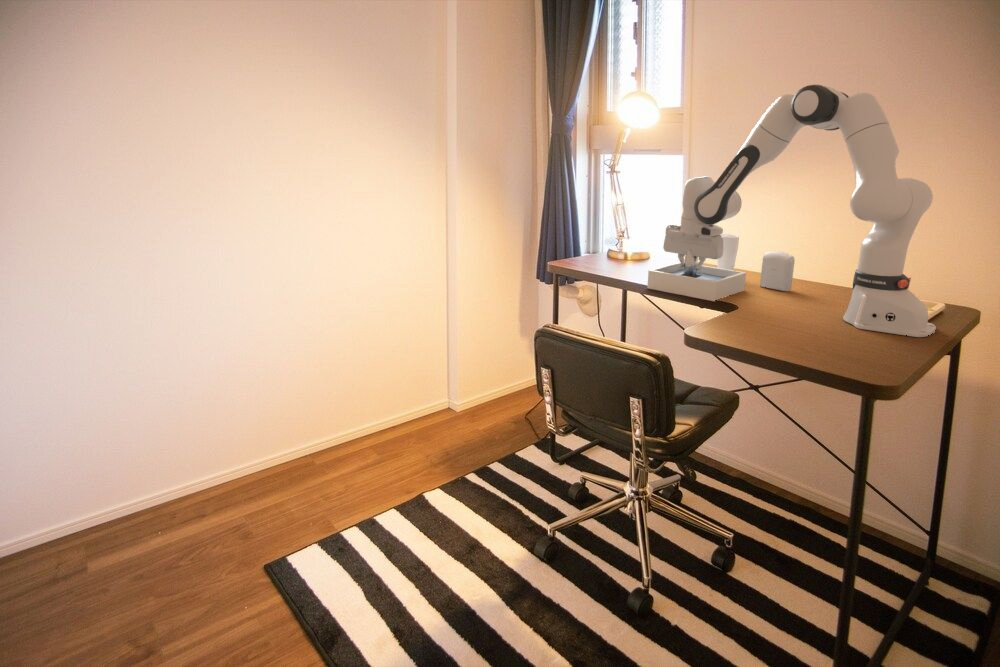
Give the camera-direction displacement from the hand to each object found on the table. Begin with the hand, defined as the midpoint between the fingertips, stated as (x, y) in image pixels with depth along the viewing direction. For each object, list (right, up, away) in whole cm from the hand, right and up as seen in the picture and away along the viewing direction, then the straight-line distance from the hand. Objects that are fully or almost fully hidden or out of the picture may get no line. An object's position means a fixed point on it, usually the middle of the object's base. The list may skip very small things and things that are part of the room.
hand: (690, 268), depth 237 cm
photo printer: (+28, -7, -1) cm, 28 cm away
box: (+1, -7, -3) cm, 8 cm away
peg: (0, -3, +1) cm, 4 cm away
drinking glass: (+15, -2, +13) cm, 20 cm away
